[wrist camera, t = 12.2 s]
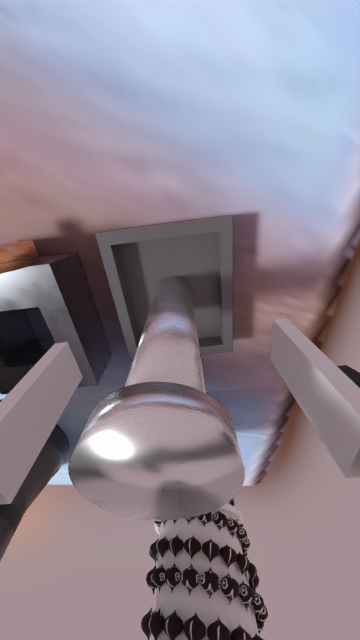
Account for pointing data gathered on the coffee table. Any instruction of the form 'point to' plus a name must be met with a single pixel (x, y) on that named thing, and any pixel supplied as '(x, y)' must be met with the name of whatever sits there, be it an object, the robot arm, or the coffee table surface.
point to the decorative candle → (204, 580)
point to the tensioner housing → (47, 313)
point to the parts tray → (173, 275)
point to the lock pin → (160, 427)
